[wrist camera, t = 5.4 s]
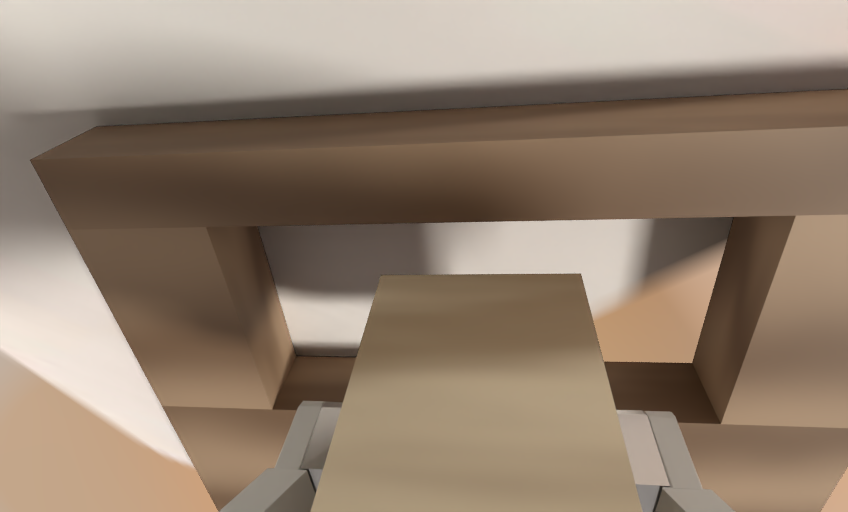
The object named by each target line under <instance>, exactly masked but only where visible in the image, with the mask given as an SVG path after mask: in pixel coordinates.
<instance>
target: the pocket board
mask: <svg viewBox="0 0 848 512" xmlns="http://www.w3.org/2000/svg"><path fill="white" fill-rule="evenodd" d="M30 161H31V163H32V165H33V166H34V168H35V170H36V172H37V174H38V176H39V178H40V179H41V181H42V183H43V185H44V187H45V189H46V191H47V193H48V194H49V196H50V198H51V200H52V202H53V204H54V206H55V207H56V209H57V211H58V213H59V215H60V217H61V219H62V220H63V222H64V224H65V226H66V228H67V230H68V232H69V234H70V235H71V237H72V239H73V241H74V243H75V245H76V247H77V248H78V250H79V252H80V254H81V256H82V258H83V260H84V262H85V263H86V265H87V267H88V269H89V271H90V273H91V275H92V276H93V278H94V280H95V282H96V284H97V286H98V288H99V289H100V291H101V293H102V295H103V297H104V299H105V301H106V303H107V304H108V306H109V308H110V310H111V312H112V314H113V316H114V317H115V319H116V321H117V323H118V325H119V327H120V329H121V330H122V332H123V334H124V336H125V338H126V340H127V342H128V344H129V345H130V347H131V349H132V351H133V353H134V355H135V357H136V358H137V360H138V362H139V364H140V366H141V368H142V370H143V371H144V373H145V375H146V377H147V379H148V381H149V383H150V385H151V386H152V388H153V390H154V392H155V394H156V396H157V398H158V399H159V401H160V403H161V405H162V407H163V409H164V411H165V413H166V414H167V416H168V418H169V420H170V422H171V424H172V426H173V427H174V429H175V431H176V433H177V435H178V437H179V439H180V440H181V442H182V444H183V446H184V448H185V450H186V452H187V454H188V455H189V457H190V459H191V461H192V463H193V465H194V467H195V468H196V470H197V472H198V474H199V476H200V478H201V480H202V481H203V483H204V485H205V487H206V489H207V491H208V493H209V494H210V496H211V498H212V500H213V502H214V504H215V506H216V508H217V509H218V511H220V510H221V509H222V508H223V507H225V506H226V505H227V504H228V503H229V502H230V501H231V500H232V499H233V498H235V497H236V496H237V495H238V494H239V493H240V492H241V491H242V490H244V489H245V488H246V487H247V486H248V485H249V484H250V483H251V482H253V481H254V480H255V479H256V478H257V477H258V476H259V475H260V474H262V473H263V472H264V471H265V470H266V469H267V468H275V465H276V462H277V460H278V457H279V455H280V452H281V450H282V447H283V444H284V442H285V439H286V437H287V434H288V432H289V429H290V427H291V424H292V421H293V419H294V416H295V414H296V411H297V409H298V407H299V405H300V404H301V403H302V402H303V401H324V402H342V403H343V401H344V397H345V394H346V390H347V387H348V384H349V380H350V377H351V374H352V370H353V367H354V364H355V360H356V357H305V356H296V354H295V351H294V348H293V344H292V341H291V338H290V334H289V331H288V328H287V324H286V321H285V318H284V314H283V311H282V308H281V304H280V301H279V298H278V294H277V291H276V288H275V284H274V281H273V278H272V274H271V271H270V268H269V264H268V261H267V258H266V254H265V251H264V248H263V244H262V241H261V238H260V234H259V231H258V228H257V226H291V225H342V224H393V223H444V222H495V221H546V220H597V219H648V218H699V217H734V219H733V222H732V226H731V229H730V233H729V236H728V240H727V243H726V247H725V250H724V254H723V257H722V261H721V264H720V268H719V271H718V275H717V278H716V282H715V285H714V289H713V293H712V296H711V300H710V303H709V306H708V310H707V314H706V317H705V320H704V324H703V328H702V331H701V335H700V338H699V342H698V345H697V349H696V352H695V356H694V359H693V363H650V362H604V365H605V369H606V373H607V377H608V380H609V384H610V388H611V392H612V396H613V400H614V404H615V407H616V410H642V411H667V412H672V413H673V414H674V416H675V417H676V420H677V422H678V425H679V427H680V430H681V433H682V435H683V438H684V441H685V443H686V446H687V448H688V451H689V454H690V456H691V459H692V462H693V464H694V467H695V469H696V472H697V475H698V477H699V480H700V483H701V485H702V488H703V489H710V490H712V491H713V492H715V493H716V494H717V495H718V496H719V497H720V498H721V499H722V500H723V501H724V502H725V503H726V504H728V505H729V506H730V507H731V508H732V509H733V510H734V511H735V512H821V510H822V508H823V506H824V505H825V503H826V502H827V500H828V498H829V497H830V495H831V493H832V492H833V490H834V489H835V487H836V485H837V483H838V482H839V480H840V479H841V477H842V475H843V474H844V472H845V471H846V469H847V467H848V89H840V90H820V91H800V92H780V93H760V94H740V95H720V96H701V97H681V98H661V99H641V100H621V101H601V102H581V103H561V104H541V105H521V106H501V107H481V108H461V109H442V110H422V111H402V112H382V113H362V114H342V115H322V116H302V117H282V118H262V119H242V120H222V121H203V122H183V123H163V124H143V125H123V126H103V127H95V128H93V129H91V130H89V131H87V132H85V133H83V134H81V135H79V136H77V137H75V138H73V139H71V140H69V141H67V142H65V143H63V144H61V145H59V146H57V147H55V148H53V149H51V150H49V151H47V152H45V153H43V154H41V155H39V156H37V157H35V158H33V159H31V160H30Z"/></svg>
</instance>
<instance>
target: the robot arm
mask: <svg viewBox="0 0 848 512" xmlns="http://www.w3.org/2000/svg"><path fill="white" fill-rule="evenodd" d="M342 404H343V403H342V402H324V401H303V402H302V403H301V404H300V405H299V407H298V409H297V411H296V414H295V416H294V419H293V421H292V424H291V427H290V429H289V432H288V434H287V437H286V439H285V442H284V444H283V447H282V450H281V452H280V455H279V457H278V460H277V462H276V465H275V468H267V469H266V470H265V471H264V472H263V473H262V474H260V475H259V476H258V477H257V478H256V479H255V480H254V481H253V482H251V483H250V484H249V485H248V486H247V487H246V488H245V489H244V490H242V491H241V492H240V493H239V494H238V495H237V496H236V497H235V498H233V499H232V500H231V501H230V502H229V503H228V504H227V505H226V506H225V507H223V508H222V509H221V510H220V511H219V512H310V511H311V508H312V505H313V501H314V498H315V495H316V491H317V488H318V485H319V481H320V478H321V474H322V471H323V468H324V464H325V461H326V458H327V454H328V451H329V448H330V444H331V441H332V438H333V434H334V431H335V427H336V424H337V421H338V417H339V414H340V411H341V407H342ZM616 411H617V415H618V419H619V423H620V427H621V431H622V434H623V438H624V442H625V446H626V450H627V454H628V458H629V461H630V465H631V469H632V473H633V477H634V481H635V484H636V488H637V492H638V496H639V500H640V504H641V508H642V511H643V512H735V511H734V510H733V509H732V508H731V507H730V506H729V505H728V504H726V503H725V502H724V501H723V500H722V499H721V498H720V497H719V496H718V495H717V494H716V493H715V492H713V491H712V490H710V489H703V488H702V485H701V483H700V480H699V477H698V475H697V472H696V469H695V467H694V464H693V462H692V459H691V456H690V454H689V451H688V448H687V446H686V443H685V441H684V438H683V435H682V433H681V430H680V427H679V425H678V422H677V420H676V417H675V416H674V414H673V413H672V412H667V411H642V410H616Z"/></svg>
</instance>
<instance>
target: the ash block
mask: <svg viewBox="0 0 848 512" xmlns="http://www.w3.org/2000/svg"><path fill="white" fill-rule="evenodd" d="M310 512H643V511H642V508H641V504H640V500H639V496H638V492H637V488H636V484H635V481H634V477H633V473H632V469H631V465H630V461H629V458H628V454H627V450H626V446H625V442H624V438H623V434H622V431H621V427H620V423H619V419H618V415H617V411H616V407H615V404H614V400H613V396H612V392H611V388H610V384H609V380H608V377H607V373H606V369H605V365H604V361H603V357H602V354H601V350H600V346H599V342H598V338H597V334H596V330H595V327H594V323H593V319H592V315H591V311H590V307H589V303H588V299H587V296H586V292H585V288H584V284H583V280H582V276H581V274H466V275H381V276H380V280H379V283H378V286H377V290H376V293H375V296H374V300H373V303H372V307H371V310H370V313H369V317H368V320H367V323H366V327H365V330H364V333H363V337H362V340H361V343H360V347H359V350H358V354H357V357H356V360H355V364H354V367H353V370H352V374H351V377H350V380H349V384H348V387H347V390H346V394H345V397H344V401H343V404H342V407H341V411H340V414H339V417H338V421H337V424H336V427H335V431H334V434H333V438H332V441H331V444H330V448H329V451H328V454H327V458H326V461H325V464H324V468H323V471H322V474H321V478H320V481H319V485H318V488H317V491H316V495H315V498H314V501H313V505H312V508H311V511H310Z"/></svg>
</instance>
